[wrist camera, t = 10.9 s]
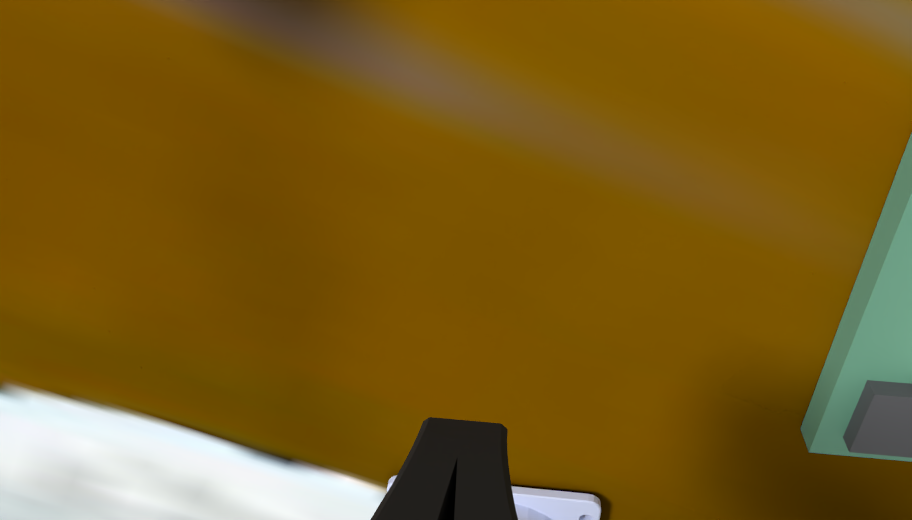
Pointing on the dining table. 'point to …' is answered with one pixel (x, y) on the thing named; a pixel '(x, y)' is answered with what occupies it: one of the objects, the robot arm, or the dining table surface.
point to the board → (872, 347)
